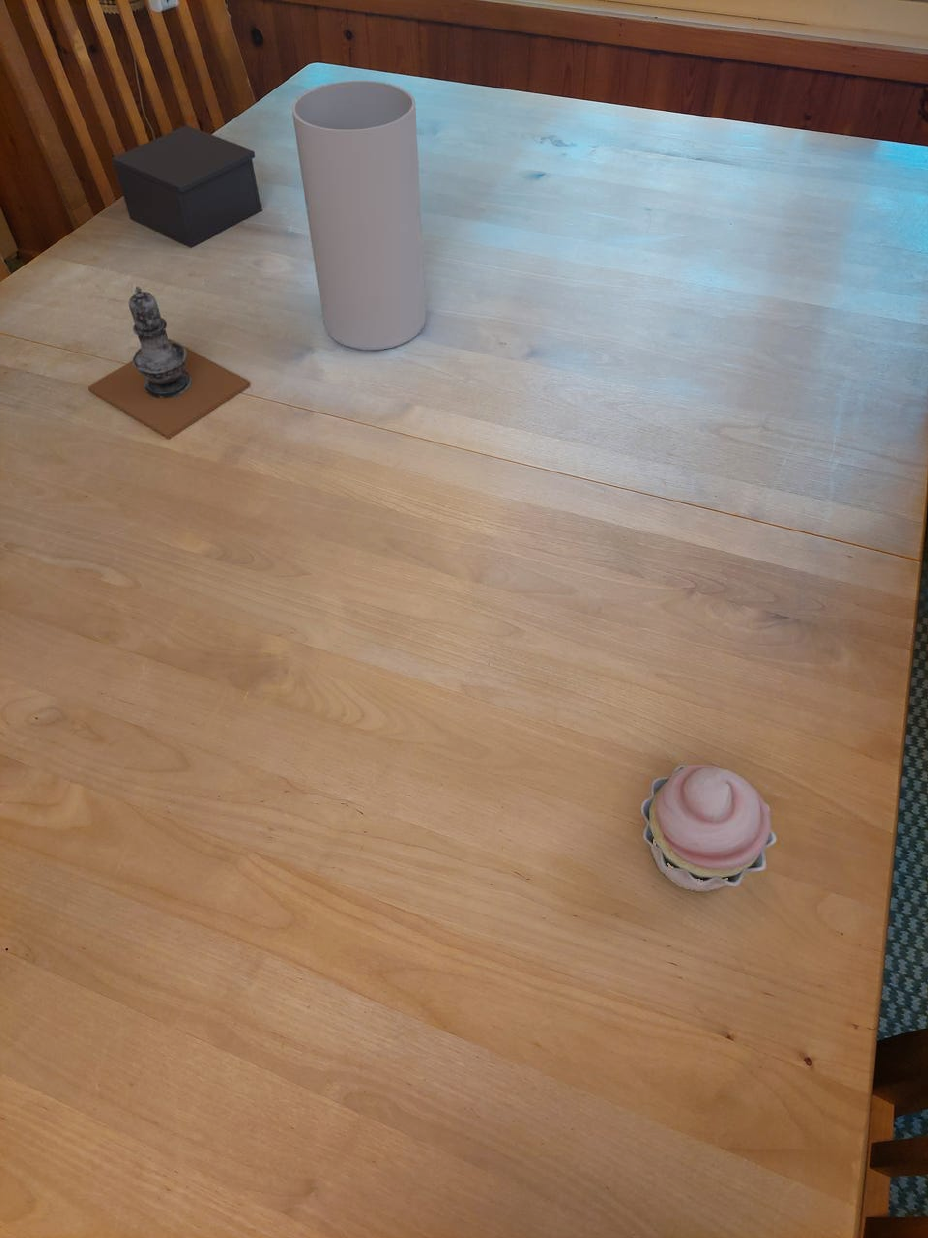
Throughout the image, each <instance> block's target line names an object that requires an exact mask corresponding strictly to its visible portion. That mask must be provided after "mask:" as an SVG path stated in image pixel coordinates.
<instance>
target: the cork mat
mask: <svg viewBox="0 0 928 1238" xmlns="http://www.w3.org/2000/svg"><path fill="white" fill-rule="evenodd" d="M168 339H169V341H170V342H174V343H177V344H179V345H181V346H183V347H184V348H185V350H186V352H187V357H186V364H185V370H184V371H185V372H187V373H188V374H189V375H190V376H191V379H192V383H191V385H190V387H189V388H188V389H187V390H186V391H185V392H183V393H182V394H180V395H177V396H174V397H170V398H157V397H153V396H151V395H149V394H148V393H147V392H146V391H145V388H144V385H145V382H146V380H147V379H145V378H144V376H143V375H142V374H141V373H140V372H139V370H137V369H136V368H135V367H134V364H133V360H131V361H129V362H127V363H126V364H124V365H122V366H121V367H119V368H117V369H115V370H114V371H112V372H111V373H109V374H107V375H105V376H103V377H102V378H100V379H99V380H96V381H95V382H94V383H92V384H90V385H89V386H87V389H88V392H90V393H91V394H93V395H95V396H96V397H98V398H100V399H102V401H105V402H107V403H108V404H109V405H112V407H115V408H116V409H118V410H119V411H121V412H123V413H125V414H126V415H128V416H130V417H131V418H132V419H134V420H135V421H138V422H140V423H141V424H143V425H144V426H146V427H148V428H149V429H150V430H153V431H154V432H156V433H157V434H159V435H161V436H162V437H164V438H165V439H168V440H170V439H172V438H173V437H175V436H176V435H177V434H179V433H181V432H182V431H184V430H185V429H187V428H189V426H191V425H192V424H195V423H196V422H198V421H200V419H202V418H204V417H205V416H207V415H208V414H210V413H212V412H213V411H214V410H216V409H217V408H219V407H220V406H222V405H224V404H225V403H227V402H228V401H229V400H231V399H232V398H234V397H235V396H237V395H239V394H240V393H241V392H243V391H245V390H246V389H248V388H249V387H251V382H250V380H248V379H246V378H244V377H242V376H240V375H238V374H236V373H234V372H232V371H231V370H229V369H227V368H225V367H223V366H221V365H219V364H218V363H216V362H214V361H213V360H211V359H208V358H206V357H205V356H203V355H201V354H199V353H198V352H195V351H193V350H191V349H190V348H188V347H186V346H185V345H183V344H181V343H178V342H177V341H175V340H173V339H171V338H168Z"/></svg>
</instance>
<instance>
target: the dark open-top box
mask: <svg viewBox="0 0 928 1238" xmlns="http://www.w3.org/2000/svg"><path fill="white" fill-rule="evenodd" d="M254 166H255V165H254V162H253V158H252V159H250V160H248V161H246V162H244V163H242V164H240V165H238V166H236V167H234V168H232V169H230V170H228V171H226V172H224V173H222V174H220V175H217V176H215V177H213V178H211V179H209V180H207V181H205V182H203V183H201V184H199V185H197V186H195V187H193V188H191V189H189V190H187V191H185V192H183V193H179V192H177V191H174V190H172V189H170V188H167V187H165V186H163V185H160V184H158V183H156V182H154V181H151V180H149V179H147V178H144V177H142V176H140V175H137V174H135V173H133V172H131V171H128V170H126V169H124V168H121V167H119V166H117V165H114V164H113V167H114V170H115V171H114V172H115V173H116V177H117V181H118V184H119V187H120V190H121V194H122V197H123V200H124V203H125V206H126V209H127V210H126V211H127V213H128V217H129V220H131V221H132V222H135V223H137V224H140V225H142V226H144V227H146V228H148V229H150V230H152V231H155V232H157V233H158V234H161V235H163V236H165V237H168V239H169V238H170V239H171V240H174V241H176V242H178V243H180V244H183V245H184V246H187V247H189V248H191V249H192V248H194V247H196V246H198V245H199V244H201V243H203V242H205V241H207V240H209V239H211V238H212V237H214V236H217V235H218V234H220V233H223V232H224V231H226V230H228V229H230V228H231V227H233V226H236V225H237V224H240V223H241V222H243V221H245V220H246V219H249V218H250V217H252V216H254V215H257V214H258V213H260V212H262V211H263V208H262V203H261V199H260V194H259V188H258V183H257V178H256V172H255V167H254Z"/></svg>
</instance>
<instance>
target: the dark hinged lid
mask: <svg viewBox="0 0 928 1238" xmlns="http://www.w3.org/2000/svg"><path fill="white" fill-rule="evenodd" d="M255 158H256V152H255V151H254V150H252V149H249V148H247V147H244V146H242V145H239V144H236V143H234V142H231V141H228V140H226V139H223V138H221V137H219V136H215V135H213V134H211V133H208V132H205V131H202V130H199V129H198V128H195V127H192V126H191V125H187V124H186V125H184V126H181V127H179V128H178V129H176V130H173V131H170V132H169V133H166V134H164V135H162V136H160V137H157V138H155V139H153V140H151V141H148V142H146V143H143V144H142V145H138V146H137V147H134V148H132V149H130V150H127V151H126V152H123V153H121V154H119V155H116V156H114V157H112V158H111V162H112V164H113V166H114V165H117V166H119V167H121V168H124V169H126V170H128V171H131V172H133V173H135V174H137V175H140V176H142V177H144V178H147V179H149V180H151V181H154V182H156V183H158V184H160V185H163V186H165V187H167V188H170V189H172V190H174V191H177V192H179V193H183V192H185V191H187V190H189V189H191V188H193V187H195V186H197V185H199V184H201V183H203V182H205V181H207V180H209V179H211V178H213V177H215V176H217V175H220V174H222V173H224V172H226V171H228V170H230V169H232V168H234V167H236V166H238V165H240V164H242V163H244V162H246V161H248V160H250V159H252V160H253V159H255Z"/></svg>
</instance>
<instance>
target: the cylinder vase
mask: <svg viewBox="0 0 928 1238" xmlns="http://www.w3.org/2000/svg"><path fill="white" fill-rule="evenodd" d="M416 110H417V109H416V99H415V98H414V96H413V95H412V93H411V92H410V91H408V90H406V89H404V88H403V87H401V86H399V85H395V84H392V83H388V82H387V83H386V82H383V81H375V80H346V81H345V80H344V81H338V82H332V83H327V84H323V85H320V86H317V87H314V88H312V89H310V90H307V91H305V92H303V93H302V94H300V95H299V96H297V98H295V100H294V101H293V103H292V105H291V115H292V122H293V128H294V135H295V142H296V147H297V154H298V161H299V167H300V175H301V181H302V187H303V195H304V201H305V208H306V214H307V221H308V227H309V235H310V242H311V247H312V255H313V260H314V267H315V273H316V280H317V288H318V295H319V301H320V307H321V313H322V321H323V326H324V328H325V331H326V332H327V334H328V335H329V336H330V337H331V338H332V339H333V340H334V341H335V342H337V343H338V344H341V345H342V346H345V347H348V348H351V349H355V350H359V351H361V350H362V351H382V350H388V349H392V348H396V347H400V346H401V345H404V344H406V343H408V342H410V341H411V340H413V339H414V338H415V337H416V336H418V335H419V334H420V333H421V332H422V330H423V328H424V326H425V324H426V320H427V306H426V303H427V302H426V287H425V284H426V283H425V266H424V249H423V247H424V246H423V228H422V209H421V207H422V205H421V189H420V188H421V187H420V173H419V172H420V171H419V150H418V148H419V147H418V129H417V112H416Z"/></svg>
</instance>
